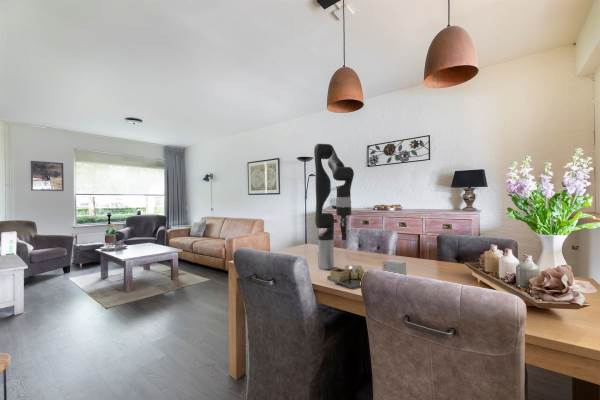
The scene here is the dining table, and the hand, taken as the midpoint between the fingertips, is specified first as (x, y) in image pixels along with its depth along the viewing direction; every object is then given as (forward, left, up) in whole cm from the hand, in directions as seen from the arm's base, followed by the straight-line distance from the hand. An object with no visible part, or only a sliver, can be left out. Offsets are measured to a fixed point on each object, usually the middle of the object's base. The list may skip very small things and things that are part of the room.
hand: (344, 240), depth 133 cm
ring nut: (+2, +1, -19) cm, 19 cm away
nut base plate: (+2, +2, -21) cm, 21 cm away
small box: (+24, +8, -21) cm, 33 cm away
